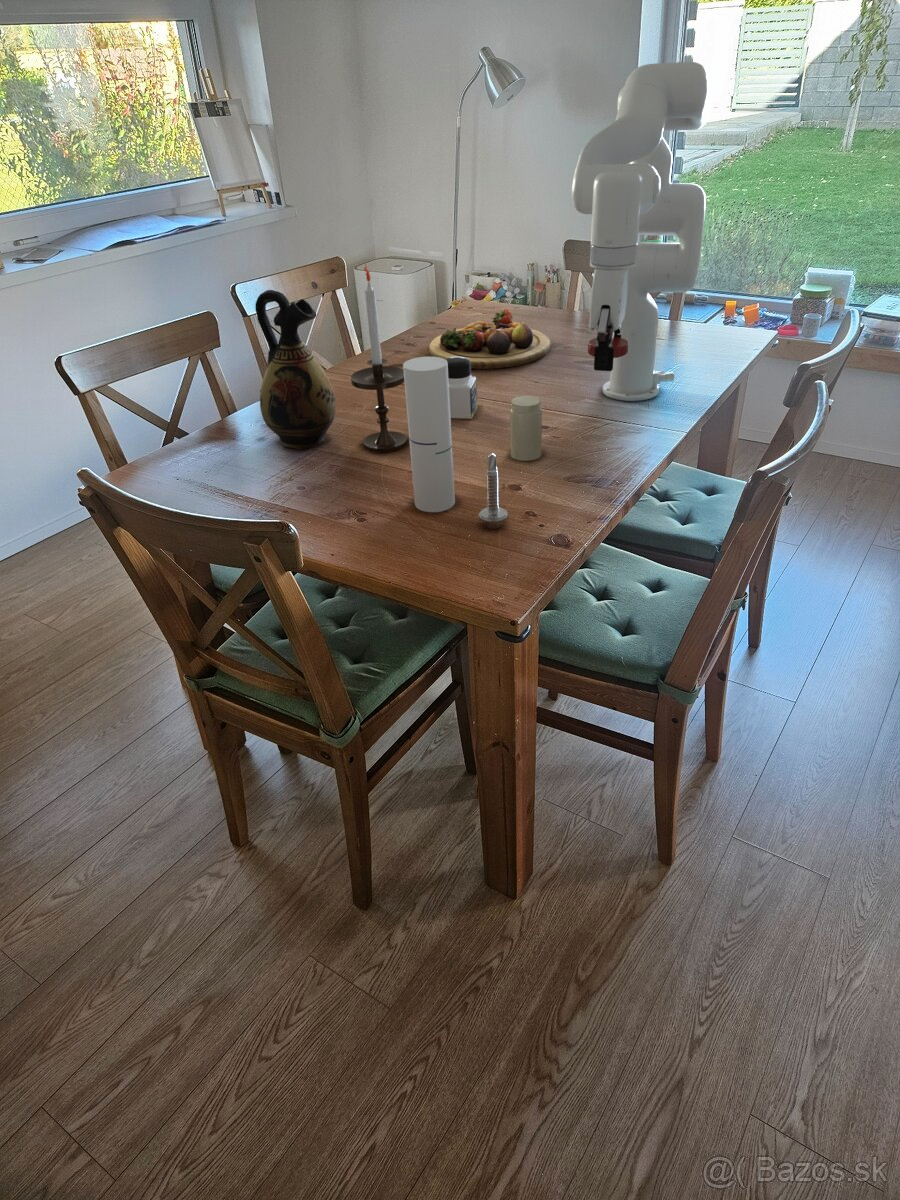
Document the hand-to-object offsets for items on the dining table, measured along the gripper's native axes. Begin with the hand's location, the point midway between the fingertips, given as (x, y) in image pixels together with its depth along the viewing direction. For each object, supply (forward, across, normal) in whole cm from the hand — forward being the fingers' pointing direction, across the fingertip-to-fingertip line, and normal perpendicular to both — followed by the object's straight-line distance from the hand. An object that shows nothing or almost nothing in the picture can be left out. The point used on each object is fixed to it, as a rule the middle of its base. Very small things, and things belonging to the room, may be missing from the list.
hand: (607, 362), depth 144 cm
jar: (+20, -1, -15) cm, 25 cm away
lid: (-3, 0, 0) cm, 3 cm away
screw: (+20, +28, -13) cm, 36 cm away
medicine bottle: (+20, -20, -35) cm, 45 cm away
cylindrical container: (+20, +22, -26) cm, 39 cm away
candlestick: (+20, 0, -44) cm, 49 cm away
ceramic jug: (+20, +1, -63) cm, 66 cm away
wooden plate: (+19, -64, -41) cm, 78 cm away
